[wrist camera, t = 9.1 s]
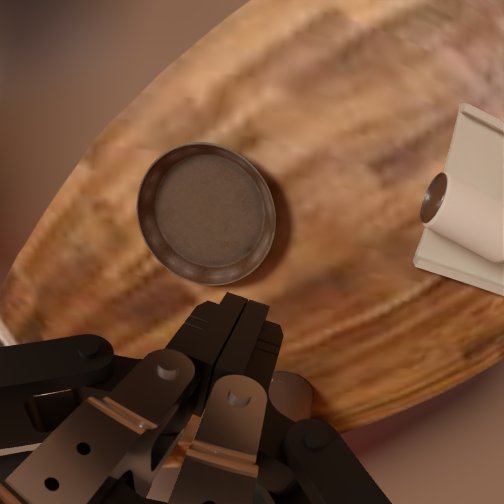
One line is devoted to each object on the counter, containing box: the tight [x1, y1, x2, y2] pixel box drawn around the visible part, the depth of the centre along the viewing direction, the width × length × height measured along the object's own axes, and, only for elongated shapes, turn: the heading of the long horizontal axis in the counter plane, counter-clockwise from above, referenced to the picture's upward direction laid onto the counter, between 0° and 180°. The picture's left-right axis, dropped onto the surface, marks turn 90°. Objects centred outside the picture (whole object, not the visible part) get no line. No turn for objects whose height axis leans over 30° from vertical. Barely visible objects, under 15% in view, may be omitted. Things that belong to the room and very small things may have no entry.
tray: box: [412, 103, 504, 296], centre depth 30 cm, size 16×20×2 cm
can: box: [420, 172, 504, 264], centre depth 29 cm, size 6×6×12 cm
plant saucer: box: [137, 142, 276, 286], centre depth 39 cm, size 18×18×3 cm
